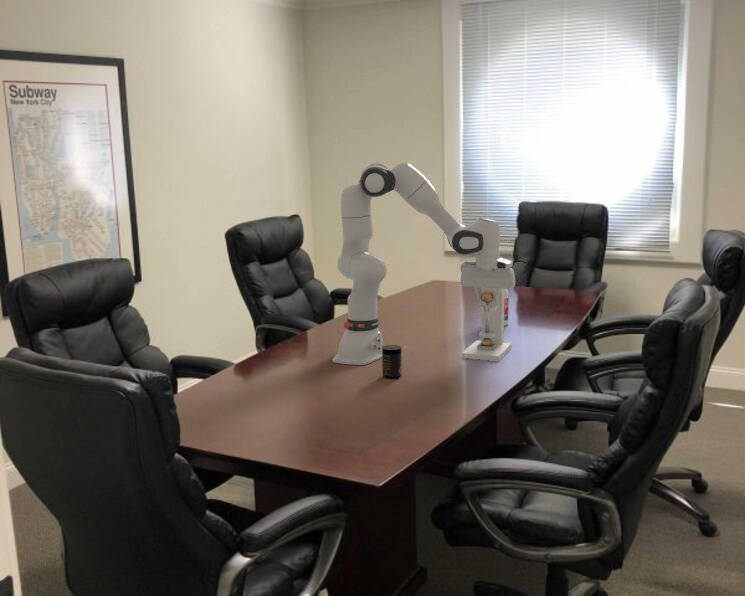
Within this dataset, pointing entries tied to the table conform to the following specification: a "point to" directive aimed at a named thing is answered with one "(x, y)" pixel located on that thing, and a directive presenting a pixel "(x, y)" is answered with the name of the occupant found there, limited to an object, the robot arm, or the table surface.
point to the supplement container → (391, 361)
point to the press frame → (496, 325)
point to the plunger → (487, 315)
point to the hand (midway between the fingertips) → (487, 299)
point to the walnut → (487, 342)
